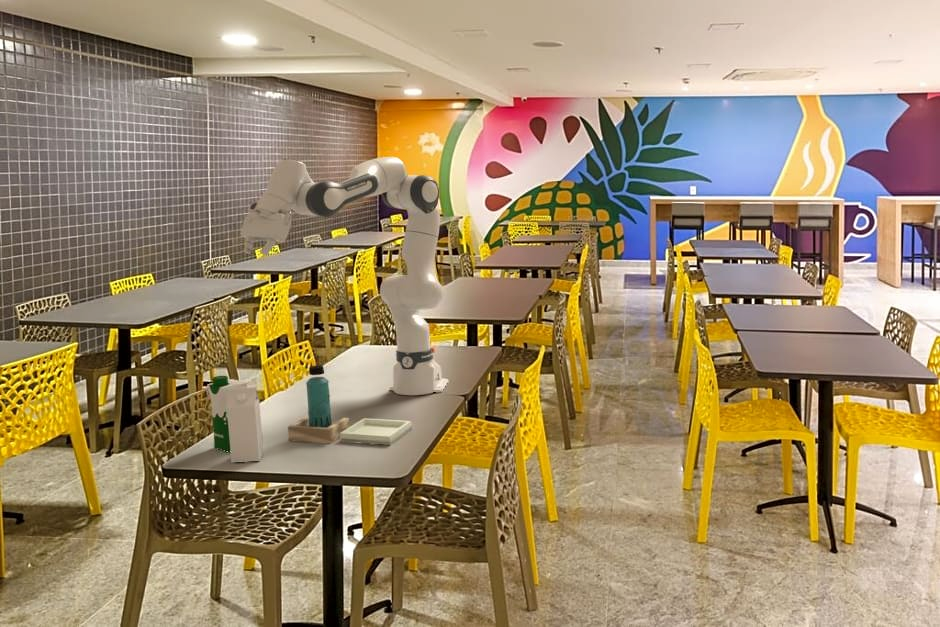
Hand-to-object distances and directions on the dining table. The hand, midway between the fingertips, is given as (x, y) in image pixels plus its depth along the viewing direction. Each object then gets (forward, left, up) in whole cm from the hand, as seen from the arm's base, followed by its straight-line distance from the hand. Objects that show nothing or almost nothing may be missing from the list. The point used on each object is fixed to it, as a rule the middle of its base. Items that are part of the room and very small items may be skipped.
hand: (255, 253), depth 248 cm
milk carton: (+26, +10, -52) cm, 59 cm away
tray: (0, +35, -51) cm, 62 cm away
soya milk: (+18, 0, -52) cm, 55 cm away
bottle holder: (+3, +19, -51) cm, 55 cm away
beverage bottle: (+3, +19, -52) cm, 55 cm away
